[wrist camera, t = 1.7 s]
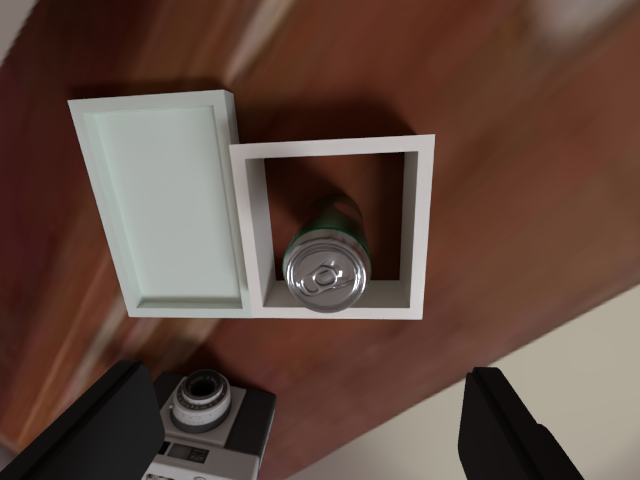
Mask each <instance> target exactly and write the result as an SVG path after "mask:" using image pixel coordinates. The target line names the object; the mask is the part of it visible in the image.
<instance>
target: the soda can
mask: <svg viewBox="0 0 640 480" xmlns="http://www.w3.org/2000/svg"><path fill="white" fill-rule="evenodd" d="M371 274H372V264H371V258H370V253H369V248H368V243H367V238H366V232H365V227H364V222H363V217H362V213H361V211H360V209H359V207H358V206H357V205H356V204H355V202H353V201H352V200H351V199H349V198H347V197H345V196H342V195H335V194H333V195H327V196H324V197H322V198H320V199H318V200H317V201H316V202H315V203H313V205H312V206H311V207H310V209H309V211H308V213H307V214H306V216H305V218H304V220H303V222H302V223H301V225H300V227H299V229H298V230H297V232H296V234H295V236H294V238H293V239H292V241H291V243H290V245H289V246H288V248H287V250H286V252H285V255H284V259H283V275H284V278H285V281H286V284H287V286H288V289H289V291H290V293H291V295H292V296H293V297H294V299H295V300H296V301H297V302H298V303H299V304H301V305H302V306H304V307H305V308H307V309H309V310H312V311H315V312H319V313H335V312H340V311H342V310H345V309H347V308H349V307H350V306H352V305H353V304H354V303H355V302H356V301H357V300H358V299H359V298H360V296H361V295H362V294H363V293H364V292H365V290H366V289H367V287H368V285H369V283H370V279H371Z"/></svg>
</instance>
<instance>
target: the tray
mask: <svg viewBox="0 0 640 480" xmlns="http://www.w3.org/2000/svg"><path fill="white" fill-rule="evenodd" d="M68 104H69V107H70V111H71V114H72V118H73V121H74V125H75V128H76V132H77V135H78V139H79V142H80V146H81V149H82V153H83V156H84V160H85V163H86V167H87V170H88V174H89V177H90V181H91V184H92V188H93V191H94V195H95V198H96V202H97V206H98V209H99V213H100V216H101V220H102V223H103V227H104V230H105V234H106V237H107V241H108V244H109V248H110V251H111V255H112V258H113V262H114V265H115V269H116V272H117V276H118V279H119V283H120V286H121V290H122V293H123V297H124V300H125V304H126V307H127V311H128V314H129V317H195V318H252V311H251V303H250V296H249V289H248V281H247V274H246V267H245V259H244V252H243V245H242V237H241V230H240V223H239V215H238V208H237V201H236V193H235V186H234V179H233V171H232V164H231V156H230V149H229V145H234V144H240V143H239V135H238V128H237V120H236V112H235V104H234V96H233V93H231V92H228V91H226V90H211V91H196V92H182V93H167V94H153V95H138V96H124V97H109V98H95V99H80V100H68Z"/></svg>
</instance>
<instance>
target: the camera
mask: <svg viewBox="0 0 640 480" xmlns="http://www.w3.org/2000/svg"><path fill="white" fill-rule="evenodd" d="M153 387H154V391H155V395H156V399H157V402H158V406H159V410H160V414H161V418H162V421H163V425H164V429H165V439H164V442H163V445H162V446H161V448H160V450H159V451H158V453H157V455H156V456H155V458H154V460H153V461H152V463H151V464H150V466H149V468H148V469H147V471H146V473H145V474H144V476H143V478H142V479H141V480H257V478H258V474H259V471H260V467H261V463H262V460H263V456H264V452H265V449H266V445H267V441H268V437H269V434H270V430H271V426H272V422H273V417H274V411H275V405H276V395H274V394H271V393H266V392H261V391H257V390H252V389H247V388H242V387H237V386H233V385H229V382H228V380H227V379H226V378H225V377H224V376H223V375H222V374H220V373H218V372H217V371H215V370H212V369H201V370H197V371H195V372H193V373H191V374H190V375H189V376H185V375H180V374H175V373H170V372H165V371H163V372H162V373H161V374H160V376H159V377H158V378H157V379H156V381H155V382H154V383H153Z"/></svg>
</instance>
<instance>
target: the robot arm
mask: <svg viewBox="0 0 640 480" xmlns="http://www.w3.org/2000/svg"><path fill="white" fill-rule="evenodd" d="M164 439H165V429H164V425H163V421H162V418H161V414H160V410H159V406H158V402H157V399H156V395H155V391H154V387H153V384H152V380H151V376H150V372H149V369H148V367H147V366H145V365H144V362H142V361H141V360H120V361H118V362H117V363H116V364H114V365H113V366H112V367H111V368H110V369H109V370H108V371H107V372H106V373H105V374H104V375H103V376H102V377H101V378H100V379H99V380H98V381H96V382H95V383H94V384H93V385H92V386H91V387H90V388H89V389H88V390H87V391H86V392H85V393H84V394H83V395H82V396H81V397H79V398H78V399H77V400H76V401H75V402H74V403H73V404H72V405H71V406H70V407H69V408H68V409H67V410H66V411H65V412H64V413H63V414H61V415H60V416H59V417H58V418H57V419H56V420H55V421H54V422H53V423H52V424H51V425H50V426H49V427H48V428H47V429H46V430H45V431H43V432H42V433H41V434H40V435H39V436H38V437H37V438H36V439H35V440H34V441H33V442H32V443H31V444H30V445H29V446H28V447H26V448H25V449H24V450H23V451H22V452H21V453H20V454H19V455H18V456H17V457H16V458H15V459H14V460H13V461H12V462H11V463H10V464H8V465H7V466H6V467H5V468H4V469H3V470H2V471H1V472H0V480H141V479H142V478H143V476H144V474H145V473H146V471H147V469H148V468H149V466H150V464H151V463H152V461H153V460H154V458H155V456H156V455H157V453H158V451H159V450H160V448H161V446H162V445H163V442H164ZM458 453H459V458H460V461H461V464H462V466H463V469H464V472H465V475H466V477H467V480H584V478H583V477H582V475H581V474H580V473H579V471H578V470H577V469H576V467H575V466H574V464H573V463H572V461H571V460H570V459H569V457H568V456H567V455H566V453H565V452H564V450H563V449H562V447H561V446H560V445H559V443H558V442H557V441H556V440H555V438H554V436H553V435H552V434H551V433H550V431H549V430H548V429H547V428H546V427H545V426H543V425H542V424H537V422H536V421H535V419H534V418H533V417H532V415H531V414H530V412H529V411H528V410H527V408H526V406H525V405H524V404H523V402H522V401H521V399H520V398H519V396H518V395H517V393H516V392H515V390H514V389H513V388H512V386H511V385H510V383H509V382H508V380H507V379H506V377H505V376H504V375H503V373H502V372H501V370H500V369H498V368H497V367H474V369H473V372H472V373H467V375H466V383H465V391H464V399H463V406H462V415H461V422H460V431H459V439H458Z"/></svg>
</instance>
